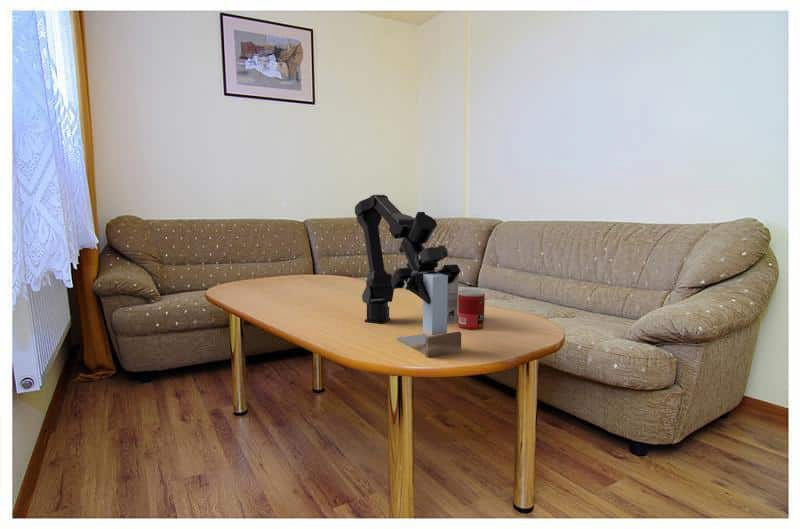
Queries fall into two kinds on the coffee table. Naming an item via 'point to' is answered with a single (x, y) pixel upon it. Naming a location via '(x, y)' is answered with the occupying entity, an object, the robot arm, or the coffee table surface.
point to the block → (435, 304)
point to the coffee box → (452, 301)
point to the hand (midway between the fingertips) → (438, 302)
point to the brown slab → (440, 344)
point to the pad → (413, 339)
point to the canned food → (471, 309)
